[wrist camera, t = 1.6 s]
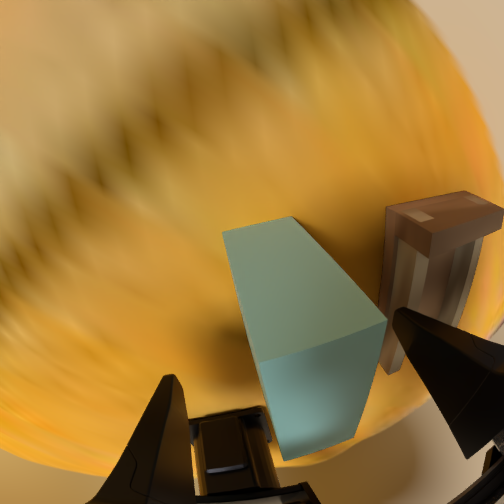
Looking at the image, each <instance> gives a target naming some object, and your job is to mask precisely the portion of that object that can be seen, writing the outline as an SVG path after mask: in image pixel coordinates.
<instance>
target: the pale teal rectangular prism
mask: <svg viewBox="0 0 504 504" xmlns="http://www.w3.org/2000/svg"><path fill="white" fill-rule="evenodd" d="M222 234H223V239H224V243H225V247H226V252H227V256H228V260H229V264H230V269H231V273H232V277H233V281H234V285H235V290H236V294H237V298H238V302H239V306H240V310H241V314H242V318H243V322H244V326H245V330H246V334H247V338H248V341H249V345H250V349H251V353H252V356H253V360H254V363H255V367H256V370H257V374H258V377H259V381H260V384H261V388H262V391H263V395H264V398H265V402H266V405H267V408H268V412H269V415H270V418H271V422H272V425H273V428H274V432H275V435H276V438H277V441H278V444H279V448H280V451H281V454H282V457H283V460H284V461H287V460H291V459H294V458H298V457H301V456H304V455H308V454H311V453H314V452H317V451H320V450H323V449H325V448H328V447H331V446H334V445H336V444H339V443H341V442H344V441H346V440H349V439H351V438H354V435H355V433H356V430H357V427H358V425H359V422H360V419H361V416H362V413H363V410H364V407H365V404H366V401H367V398H368V395H369V392H370V389H371V385H372V382H373V378H374V375H375V371H376V368H377V364H378V360H379V356H380V352H381V348H382V344H383V339H384V335H385V330H386V325H387V320H388V319H387V318H386V317H385V316H384V315H383V314H382V312H381V311H380V310H379V309H378V308H377V307H376V306H375V304H374V303H373V302H372V301H371V300H370V299H369V298H368V297H367V295H366V294H365V293H364V292H363V291H362V290H361V289H360V288H359V287H358V285H357V284H356V283H355V282H354V281H353V280H352V279H351V278H350V277H349V276H348V275H347V273H346V272H345V271H344V270H343V269H342V268H341V267H340V266H339V265H338V264H337V263H336V262H335V261H334V260H333V258H332V257H331V256H330V255H329V254H328V253H327V252H326V251H325V250H324V249H323V248H322V247H321V246H320V245H319V244H318V243H317V242H316V241H315V240H314V239H313V238H312V237H311V236H310V235H309V233H308V232H307V231H306V230H305V229H304V228H303V227H302V226H301V225H300V224H299V223H298V222H297V221H296V220H295V219H294V218H293V217H292V216H290V217H286V218H281V219H277V220H272V221H268V222H263V223H259V224H254V225H250V226H246V227H241V228H237V229H233V230H229V231H224V232H222Z"/></svg>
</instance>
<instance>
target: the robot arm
mask: <svg viewBox="0 0 504 504" xmlns="http://www.w3.org/2000/svg"><path fill="white" fill-rule="evenodd" d="M392 328H393V330H394V332H395V334H396V336H397V338H398V340H399V342H400V344H401V346H402V348H403V350H404V352H405V354H406V355H407V357H408V359H409V360H410V362H411V364H412V365H413V367H414V368H415V370H416V371H417V373H418V375H419V376H420V378H421V379H422V381H423V383H424V384H425V386H426V388H427V389H428V391H429V393H430V394H431V396H432V398H433V399H434V401H435V403H436V404H437V406H438V408H439V410H440V411H441V413H442V415H443V417H444V418H445V420H446V422H447V424H448V425H449V427H450V429H451V431H452V433H453V435H454V437H455V439H456V441H457V442H458V444H459V446H460V448H461V450H462V452H463V454H464V456H465V458H466V459H469V458H470V457H471V456H473V455H474V454H475V453H476V452H478V451H479V450H480V449H481V448H483V447H484V446H485V445H486V444H487V443H488V442H490V441H491V440H492V441H493V443H494V445H493V446H492V447H491V448H490V449H489V450H488V451H487V452H486V457H485V461H484V466H483V471H482V476H481V477H480V478H479V479H477V480H476V481H475V482H474V483H473V484H472V485H470V486H469V487H468V488H467V489H466V490H465V491H463V492H462V493H461V494H459V495H458V496H457V497H456V498H454V499H453V500H451V501H450V502H449V503H447V504H504V345H501V344H497V343H494V342H491V341H488V340H485V339H483V338H480V337H478V336H475V335H473V334H470V333H468V332H465V331H463V330H461V329H458V328H456V327H453V326H451V325H448V324H446V323H443V322H441V321H439V320H436V319H434V318H431V317H429V316H426V315H424V314H421V313H419V312H417V311H414V310H412V309H409V308H407V307H404V306H402V307H400V308H397V309H395V311H394V315H393V320H392ZM270 442H272V437H271V434H270V430H269V427H268V424H267V421H266V417H265V414H264V411H263V409H262V408H254V409H250V410H245V411H241V412H236V413H231V414H226V415H221V416H216V417H210V418H204V419H198V420H191V421H188V415H187V410H186V404H185V398H184V392H183V388H182V386H181V384H180V382H179V381H178V379H177V377H176V376H175V375H174V374H168V375H164V376H163V377H162V379H161V381H160V383H159V385H158V387H157V389H156V390H155V392H154V394H153V396H152V398H151V400H150V402H149V404H148V406H147V407H146V409H145V411H144V413H143V415H142V417H141V419H140V421H139V423H138V425H137V427H136V428H135V430H134V432H133V434H132V436H131V438H130V440H129V442H128V444H127V446H126V448H125V450H124V452H123V454H122V455H121V457H120V459H119V461H118V463H117V464H116V466H115V467H114V469H113V471H112V472H111V474H110V475H109V477H108V478H107V480H106V481H105V483H104V484H103V486H102V487H101V489H100V490H99V492H98V493H97V494H96V495H95V496H94V497H93V499H91V500H90V501H89V502H87V503H85V504H321V503H320V502H319V500H318V498H317V497H316V495H315V493H314V492H313V490H312V489H311V487H310V485H309V484H308V483H307V482H302V483H299V484H297V485H293V486H287V487H283V488H281V487H280V483H279V480H278V477H277V474H276V470H275V467H274V463H273V460H272V456H271V453H270V449H269V446H268V443H270ZM190 443H191V444H192V445H193V446H194V452H195V461H196V469H197V477H198V484H199V491H200V496H195V488H194V478H193V468H192V457H191V444H190Z"/></svg>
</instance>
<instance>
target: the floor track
mask: <svg viewBox="0 0 504 504" xmlns="http://www.w3.org/2000/svg"><path fill="white" fill-rule="evenodd" d="M503 216H504V209H503V208H501V207H499V206H497V205H495V204H493V203H491V202H489V201H487V200H485V199H483V198H480V197H478V196H476V195H474V194H471V193H469V192H467V191H461V192H455V193H450V194H445V195H441V196H436V197H431V198H426V199H421V200H416V201H411V202H406V203H402V204H397V205H392V206H387V207H386V226H385V244H384V257H383V268H382V278H381V287H380V295H379V302H378V309H379V310H380V311H381V312H382V314H383V315H384V316H385V317H386V318H387V319H388V320H387V325H386V330H385V335H384V339H383V344H382V348H381V352H380V356H379V360H378V362H379V363H380V365H381V366H382V367H383V369H384V370H385V372H386V373H387V375H390V374H392V373H394V372H396V371H398V370H400V368H401V365H402V362H403V359H404V356H405V352H404V350H403V348H402V346H401V344H400V342H399V340H398V338H397V336H396V334H395V332H394V330H393V328H392V320H393V315H394V311H395V309H397V308H400V307H402V306H404V307H407V308H409V309H412V310H414V311H417V312H419V313H421V314H424V315H426V316H429V317H431V318H434V319H436V320H439V321H441V322H443V323H446V324H448V325H451V326H453V327H456V328H457V326H458V323H459V320H460V318H461V315H462V312H463V309H464V307H465V304H466V301H467V298H468V295H469V292H470V288H471V285H472V282H473V278H474V275H475V271H476V267H477V263H478V259H479V255H480V251H481V246H482V242H483V237H484V236H486V235H488V234H490V233H493V232H495V231H497V230H499V229H501V227H502V222H503Z"/></svg>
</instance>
